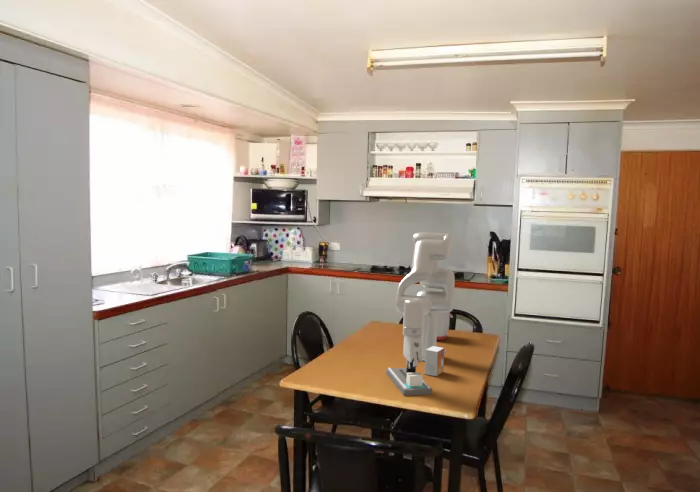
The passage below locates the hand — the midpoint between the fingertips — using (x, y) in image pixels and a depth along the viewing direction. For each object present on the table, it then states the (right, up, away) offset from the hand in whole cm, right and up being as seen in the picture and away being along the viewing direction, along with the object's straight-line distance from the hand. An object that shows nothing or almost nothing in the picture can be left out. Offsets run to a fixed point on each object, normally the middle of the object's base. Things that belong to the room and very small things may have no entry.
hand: (410, 377), depth 189 cm
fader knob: (+1, -1, -4) cm, 4 cm away
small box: (+12, -3, +18) cm, 21 cm away
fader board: (-1, -3, +4) cm, 5 cm away
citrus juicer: (+23, +1, +76) cm, 80 cm away
